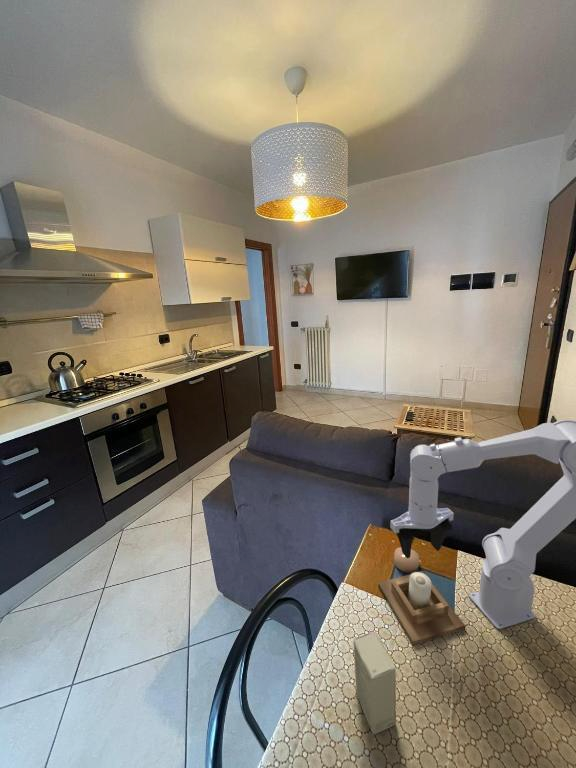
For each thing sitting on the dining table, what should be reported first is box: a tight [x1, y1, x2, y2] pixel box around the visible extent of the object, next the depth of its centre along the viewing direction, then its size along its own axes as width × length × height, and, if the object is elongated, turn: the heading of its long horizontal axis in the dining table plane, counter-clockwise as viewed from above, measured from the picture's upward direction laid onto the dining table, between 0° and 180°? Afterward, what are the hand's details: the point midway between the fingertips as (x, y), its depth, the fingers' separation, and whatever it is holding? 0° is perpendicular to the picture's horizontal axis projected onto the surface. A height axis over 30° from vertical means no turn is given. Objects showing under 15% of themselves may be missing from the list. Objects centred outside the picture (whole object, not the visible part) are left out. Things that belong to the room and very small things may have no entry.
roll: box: [408, 571, 432, 610], centre depth 69 cm, size 4×4×6 cm
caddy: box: [377, 570, 466, 646], centre depth 69 cm, size 12×14×4 cm
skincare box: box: [352, 631, 397, 735], centre depth 51 cm, size 6×4×12 cm
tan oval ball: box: [393, 546, 420, 574], centre depth 81 cm, size 6×6×2 cm
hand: (420, 551), depth 71 cm, fingers open, 7 cm apart
